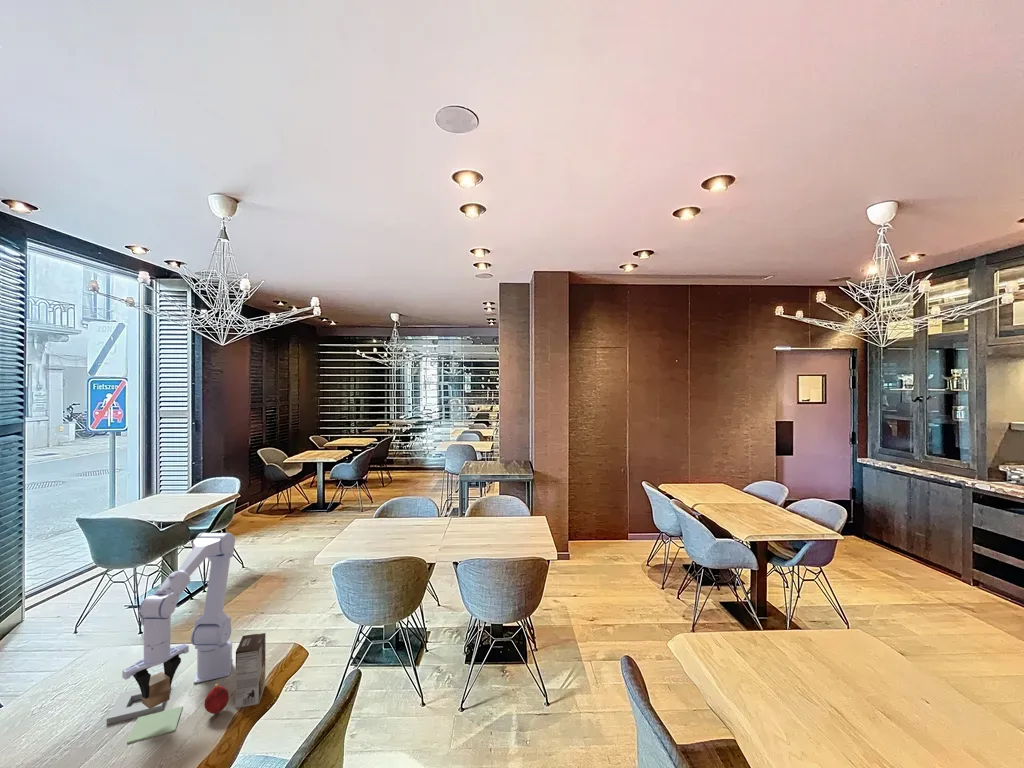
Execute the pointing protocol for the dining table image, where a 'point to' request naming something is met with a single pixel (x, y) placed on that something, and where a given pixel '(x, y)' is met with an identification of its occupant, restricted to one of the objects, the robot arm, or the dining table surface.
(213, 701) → the onion
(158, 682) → the walnut block
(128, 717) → the pocket board
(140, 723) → the felt mat
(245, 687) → the coffee box
